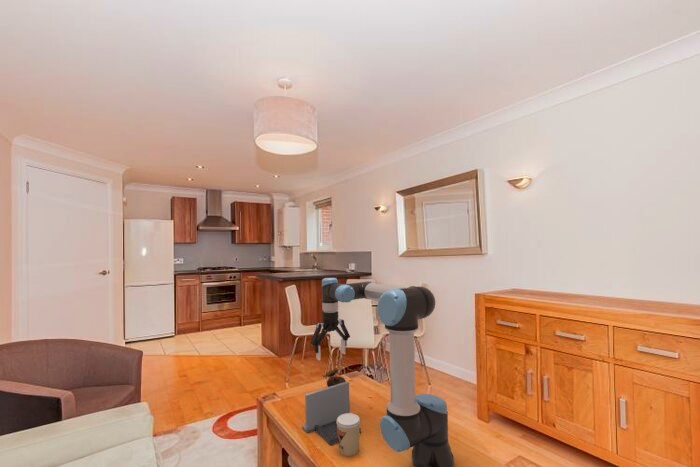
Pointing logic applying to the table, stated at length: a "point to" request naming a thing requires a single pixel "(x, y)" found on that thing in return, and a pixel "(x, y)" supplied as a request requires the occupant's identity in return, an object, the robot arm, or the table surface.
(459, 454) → the table surface
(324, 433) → the plate
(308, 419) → the wall board
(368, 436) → the table surface
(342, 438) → the coffee cup
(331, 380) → the music box
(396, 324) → the robot arm
